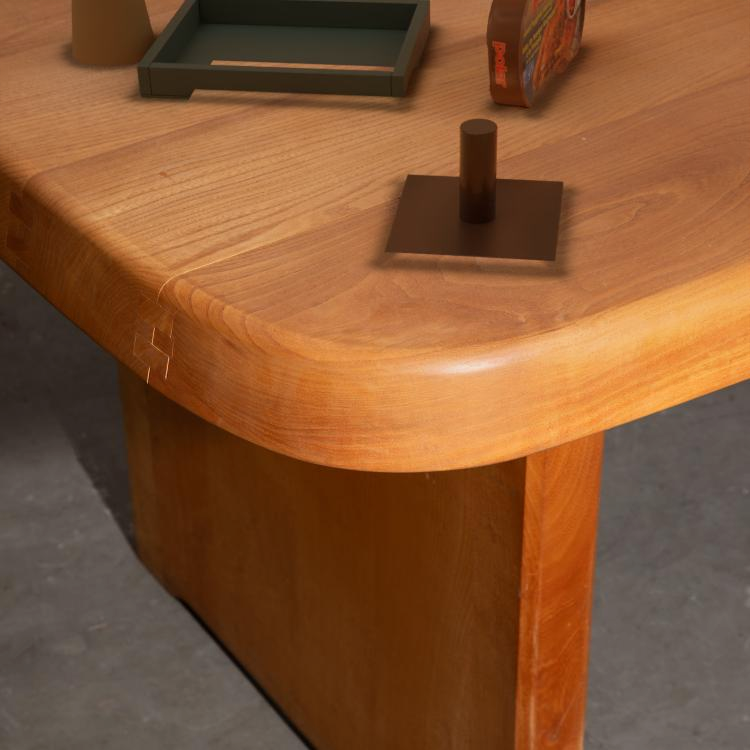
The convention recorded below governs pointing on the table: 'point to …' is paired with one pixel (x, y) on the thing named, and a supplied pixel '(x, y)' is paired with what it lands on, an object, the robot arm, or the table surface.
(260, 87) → the tray
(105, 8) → the cork
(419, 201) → the stand
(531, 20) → the tin
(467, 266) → the table surface
